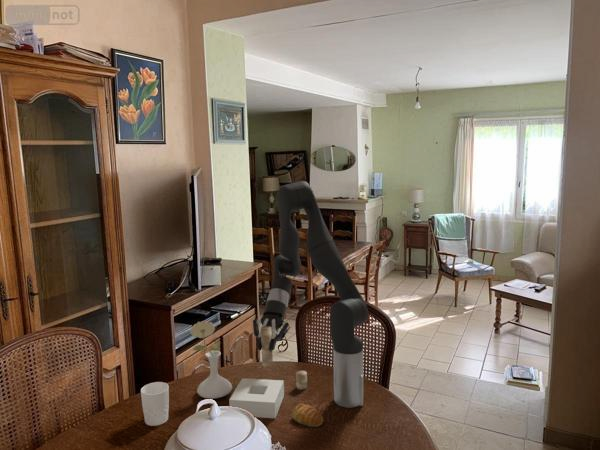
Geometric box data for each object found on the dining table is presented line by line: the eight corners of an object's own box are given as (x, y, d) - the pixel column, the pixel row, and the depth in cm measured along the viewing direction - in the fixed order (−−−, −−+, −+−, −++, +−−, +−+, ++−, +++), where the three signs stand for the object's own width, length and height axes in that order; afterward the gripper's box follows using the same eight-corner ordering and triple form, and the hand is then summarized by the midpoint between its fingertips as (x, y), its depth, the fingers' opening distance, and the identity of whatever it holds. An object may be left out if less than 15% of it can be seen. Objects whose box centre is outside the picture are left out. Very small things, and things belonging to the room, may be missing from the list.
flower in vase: (235, 385, 156) (232, 314, 152) (228, 402, 144) (225, 326, 141) (197, 385, 156) (193, 315, 153) (188, 402, 145) (184, 327, 142)
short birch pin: (306, 383, 155) (306, 370, 154) (307, 389, 152) (307, 375, 151) (296, 384, 155) (296, 370, 154) (296, 390, 152) (296, 376, 151)
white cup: (145, 430, 130) (142, 397, 129) (140, 417, 137) (138, 385, 136) (173, 422, 133) (171, 390, 132) (167, 410, 140) (165, 379, 139)
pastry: (328, 421, 133) (328, 409, 132) (314, 432, 128) (314, 419, 127) (303, 410, 139) (303, 399, 138) (289, 420, 134) (289, 408, 133)
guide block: (284, 395, 148) (283, 380, 148) (275, 418, 135) (274, 402, 134) (242, 392, 151) (242, 378, 150) (229, 415, 137) (229, 399, 136)
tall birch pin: (273, 362, 156) (272, 326, 154) (271, 367, 152) (270, 329, 151) (263, 362, 156) (262, 325, 155) (261, 366, 153) (259, 329, 151)
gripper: (255, 297, 161) (241, 343, 151) (292, 300, 156) (281, 347, 147) (261, 308, 167) (249, 352, 157) (298, 310, 162) (287, 356, 152)
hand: (264, 349), depth 152 cm, fingers closed on tall birch pin, 3 cm apart
